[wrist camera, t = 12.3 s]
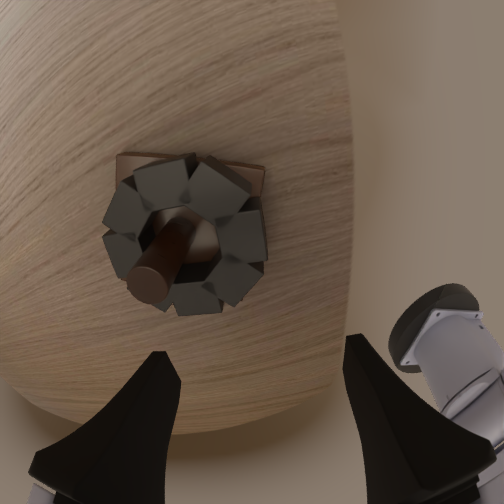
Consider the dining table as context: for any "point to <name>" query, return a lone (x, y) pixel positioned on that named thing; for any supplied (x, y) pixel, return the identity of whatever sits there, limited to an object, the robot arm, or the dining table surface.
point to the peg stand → (175, 233)
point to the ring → (205, 205)
